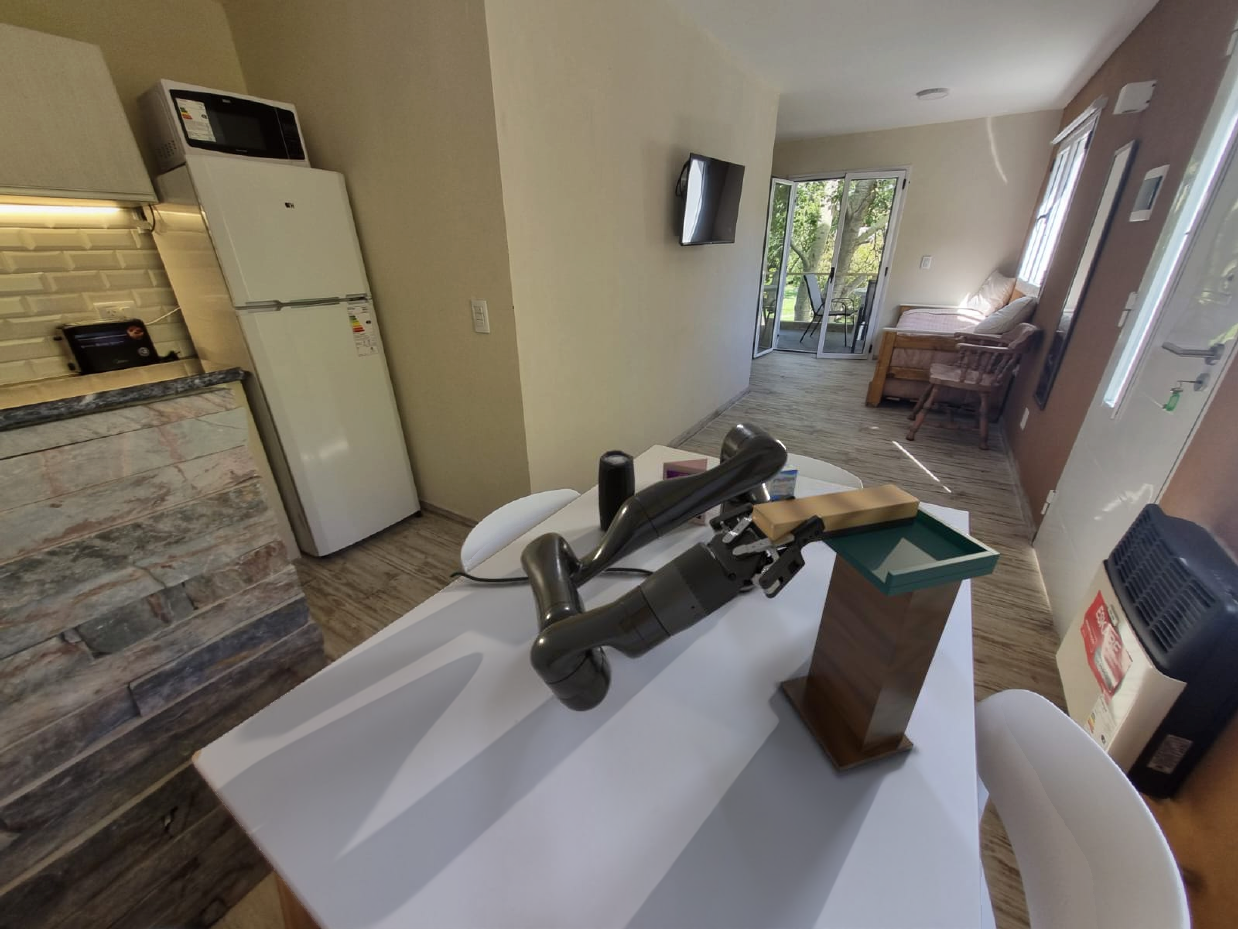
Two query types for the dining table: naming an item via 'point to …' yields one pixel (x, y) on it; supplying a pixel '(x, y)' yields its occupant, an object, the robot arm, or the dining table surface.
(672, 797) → the dining table surface
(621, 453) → the portable speaker
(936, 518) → the tray
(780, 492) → the medicine box
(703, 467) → the greeting card
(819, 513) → the eraser
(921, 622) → the stand
